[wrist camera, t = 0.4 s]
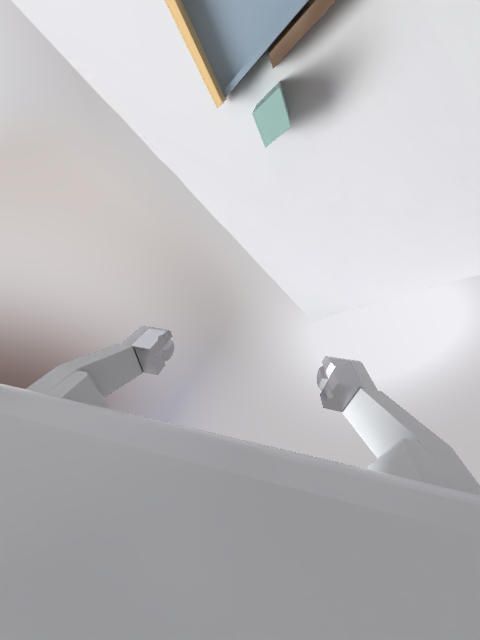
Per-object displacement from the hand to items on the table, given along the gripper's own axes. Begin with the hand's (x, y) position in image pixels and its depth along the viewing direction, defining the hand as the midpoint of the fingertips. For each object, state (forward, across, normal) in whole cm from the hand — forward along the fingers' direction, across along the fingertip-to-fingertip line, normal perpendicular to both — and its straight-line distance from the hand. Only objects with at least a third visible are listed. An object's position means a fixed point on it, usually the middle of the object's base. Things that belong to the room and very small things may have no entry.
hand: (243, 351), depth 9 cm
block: (+47, +3, -24) cm, 53 cm away
